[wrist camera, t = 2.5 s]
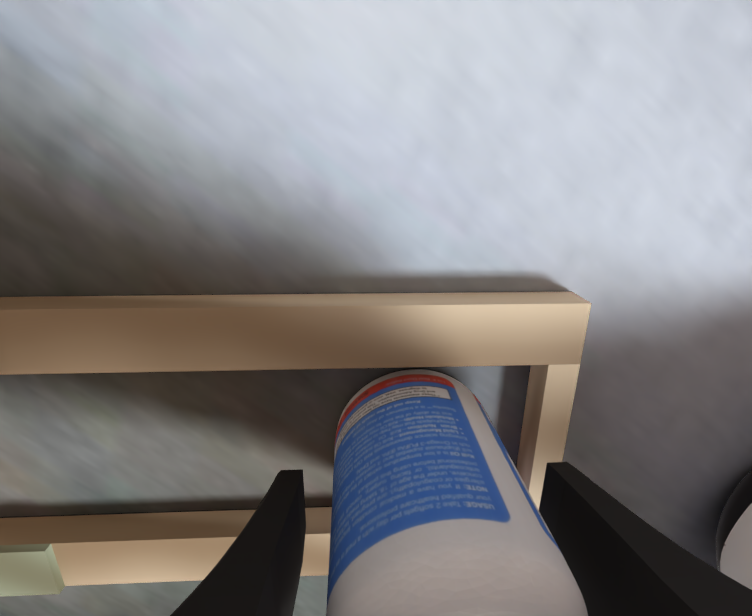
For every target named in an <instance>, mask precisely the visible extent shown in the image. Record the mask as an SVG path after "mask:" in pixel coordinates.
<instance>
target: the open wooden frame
mask: <svg viewBox="0 0 752 616" xmlns="http://www.w3.org/2000/svg"><path fill="white" fill-rule="evenodd" d="M590 309H591V303H590V302H588V301H587V300H585V299H583V298H582V297H580V296H578V295H577V294H575V293H573V292H468V293H363V294H257V295H152V296H46V297H0V375H6V374H62V373H118V372H174V371H230V370H286V369H342V368H398V367H454V366H510V365H531V367H530V374H529V381H528V389H527V396H526V403H525V410H524V417H523V424H522V431H521V438H520V445H519V452H518V459H517V466H516V469H517V471H518V472H519V474H520V476H521V478H522V480H523V482H524V483H525V485H526V487H527V489H528V491H529V493H530V495H531V497H532V499H533V501H534V503H535V504H536V506H537V508H538V510H539V506H540V500H541V494H542V489H543V483H544V477H545V471H546V465H547V463H549V462H562V460H563V455H564V449H565V444H566V438H567V433H568V428H569V422H570V417H571V411H572V406H573V401H574V395H575V390H576V384H577V379H578V374H579V368H580V363H581V357H582V352H583V346H584V341H585V336H586V330H587V325H588V319H589V314H590ZM255 511H256V510H227V511H197V512H167V513H137V514H107V515H77V516H47V517H17V518H0V596H23V595H47V594H60V592H61V591H62V589H63V588H64V587H65V586H73V585H97V584H122V583H146V582H171V581H195V580H204V579H205V577H206V576H207V575H208V574H209V573H210V572H211V570H212V569H213V568H214V567H215V565H216V564H217V563H218V562H219V561H220V559H221V558H222V557H223V555H224V554H225V553H226V551H227V550H228V549H229V547H230V546H231V545H232V544H233V542H234V541H235V540H236V538H237V537H238V536H239V534H240V533H241V531H242V530H243V529H244V527H245V526H246V524H247V523H248V521H249V520H250V518H251V517H252V515H253V514H254V512H255ZM305 514H306V532H305V544H304V554H303V563H302V568H301V574H300V576H317V575H328V574H329V554H330V534H331V515H332V507H317V508H305Z"/></svg>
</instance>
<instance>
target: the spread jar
mask: <svg viewBox="0 0 752 616" xmlns="http://www.w3.org/2000/svg"><path fill="white" fill-rule="evenodd" d="M715 543H716V560H717V565H718V570H719V571H720V572H722V573H723V574H725V575H727V576H728V577H730V578H732V579H733V580H735V581H737V582H739V583H740V584H742V585H744V586H746V587H748V588H749V589H751V590H752V470H751V471H750V472H749V473H748V474H747V475H746V476H745V477H744V478H743V479H742V480H741V481H740V483H739V484H738V485H737V486H736V488H735V489H734V491H733V492H732V494H731V495H730V497H729V499H728V501H727V503H726V505H725V507H724V509H723V511H722V514H721V516H720V519H719V523H718V527H717V532H716V542H715Z"/></svg>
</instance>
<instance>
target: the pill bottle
mask: <svg viewBox="0 0 752 616" xmlns="http://www.w3.org/2000/svg"><path fill="white" fill-rule="evenodd" d="M326 616H588V613H587V608H586V605H585V602H584V599H583V596H582V594H581V591H580V589H579V587H578V585H577V582H576V580H575V578H574V576H573V574H572V572H571V571H570V569H569V567H568V565H567V563H566V561H565V559H564V557H563V555H562V553H561V551H560V549H559V547H558V545H557V543H556V542H555V540H554V538H553V536H552V534H551V532H550V530H549V529H548V527H547V525H546V523H545V521H544V519H543V518H542V516H541V514H540V512H539V510H538V508H537V506H536V504H535V503H534V501H533V499H532V497H531V495H530V493H529V491H528V489H527V487H526V485H525V483H524V482H523V480H522V478H521V476H520V474H519V472H518V471H517V469H516V467H515V465H514V463H513V461H512V459H511V458H510V456H509V454H508V452H507V450H506V448H505V446H504V444H503V443H502V441H501V439H500V437H499V435H498V433H497V431H496V429H495V427H494V426H493V424H492V422H491V420H490V418H489V417H488V415H487V413H486V411H485V410H484V408H483V406H482V405H481V403H480V402H479V400H478V399H477V398H476V396H475V395H474V394H473V393H472V392H471V391H470V390H469V389H468V388H467V387H466V386H465V385H463V384H462V383H461V382H459V381H457V380H456V379H454V378H452V377H450V376H448V375H445V374H442V373H439V372H436V371H431V370H423V369H411V370H402V371H397V372H393V373H390V374H387V375H384V376H382V377H380V378H378V379H376V380H374V381H372V382H370V383H369V384H367V385H366V386H364V387H363V388H362V389H361V390H359V391H358V392H357V393H356V394H355V395H354V396H353V397H352V399H351V400H350V401H349V402H348V404H347V405H346V407H345V408H344V410H343V412H342V414H341V417H340V419H339V423H338V426H337V432H336V438H335V454H334V475H333V495H332V515H331V534H330V554H329V574H328V593H327V613H326Z"/></svg>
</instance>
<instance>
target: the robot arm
mask: <svg viewBox="0 0 752 616" xmlns="http://www.w3.org/2000/svg"><path fill="white" fill-rule="evenodd" d="M539 512H540V514H541V516H542V518H543V519H544V521H545V523H546V525H547V527H548V529H549V530H550V532H551V534H552V536H553V538H554V540H555V542H556V543H557V545H558V547H559V549H560V551H561V553H562V555H563V557H564V559H565V561H566V563H567V565H568V567H569V569H570V571H571V572H572V574H573V576H574V578H575V580H576V582H577V585H578V587H579V589H580V591H581V594H582V596H583V599H584V602H585V605H586V608H587V613H588V616H752V590H751V589H749V588H748V587H746V586H744V585H742V584H740V583H739V582H737V581H735V580H733V579H732V578H730V577H728V576H727V575H725V574H723V573H722V572H720V571H718V570H717V569H715V568H713V567H712V566H710V565H709V564H707V563H705V562H704V561H702V560H701V559H699V558H697V557H696V556H694V555H693V554H691V553H689V552H688V551H686V550H685V549H683V548H682V547H680V546H679V545H677V544H676V543H674V542H673V541H672V540H670V539H669V538H667V537H666V536H664V535H663V534H662V533H660V532H659V531H657V530H656V529H654V528H653V527H652V526H650V525H649V524H647V523H646V522H645V521H643V520H642V519H641V518H639V517H638V516H637V515H635V514H634V513H633V512H631V511H630V510H629V509H627V508H626V507H625V506H623V505H622V504H621V503H619V502H618V501H617V500H616V499H614V498H613V497H612V496H610V495H609V494H608V493H607V492H605V491H604V490H603V489H602V488H600V487H599V486H598V485H596V484H595V483H594V482H593V481H591V480H590V479H589V478H588V477H586V476H585V475H584V474H582V473H581V472H580V471H579V470H577V469H576V468H575V467H573V466H572V465H571V464H569V463H568V462H549V463H547V465H546V471H545V477H544V483H543V489H542V494H541V500H540V506H539ZM305 532H306V514H305V499H304V483H303V470H281V471H280V472H279V473H278V474H277V476H276V478H275V480H274V482H273V483H272V485H271V487H270V489H269V490H268V492H267V494H266V495H265V497H264V498H263V500H262V502H261V503H260V505H259V506H258V508H257V509H256V511H255V512H254V514H253V515H252V517H251V518H250V520H249V521H248V523H247V524H246V526H245V527H244V529H243V530H242V531H241V533H240V534H239V536H238V537H237V538H236V540H235V541H234V542H233V544H232V545H231V546H230V547H229V549H228V550H227V551H226V553H225V554H224V555H223V557H222V558H221V559H220V561H219V562H218V563H217V564H216V565H215V567H214V568H213V569H212V570H211V572H210V573H209V574H208V575H207V576H206V577H205V579H204V580H203V581H202V582H201V583H200V584H199V585H198V587H197V588H196V589H195V590H194V591H193V592H192V593H191V594H190V595H189V596H188V598H187V599H186V600H185V601H184V602H183V603H182V604H181V605H180V606H179V607H178V608H177V609H176V610H175V611H174V612H173V613H172V614H171V615H170V616H292V615H293V610H294V604H295V599H296V594H297V589H298V584H299V579H300V574H301V568H302V563H303V554H304V544H305Z"/></svg>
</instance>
